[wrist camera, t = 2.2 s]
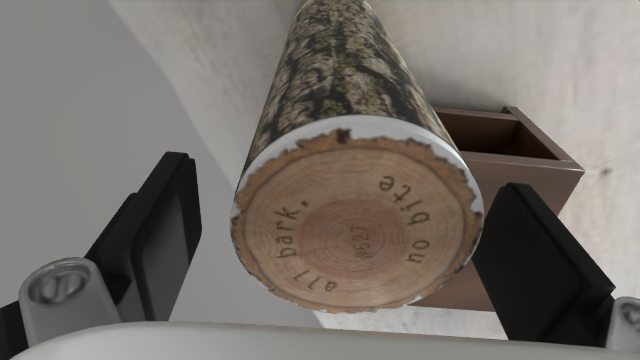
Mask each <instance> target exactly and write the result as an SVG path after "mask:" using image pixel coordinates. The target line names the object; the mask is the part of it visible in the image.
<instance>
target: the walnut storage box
mask: <svg viewBox="0 0 640 360" xmlns="http://www.w3.org/2000/svg"><path fill="white" fill-rule="evenodd" d="M432 108H433V110H434V111H435V113H436V114H437V116H438V118H439V119H440V121H441V123H442V124H443V126H444V128H445V129H446V131H447V132H448V134H449V136H450V137H451V139H452V141H453V142H454V144H455V146H456V147H457V149H458V150H459V152H460V154H461V155H462V157H463V159H464V160H465V162H466V164H467V165H468V167H469V168H470V170H471V173H472V175H473V177H474V179H475V181H476V183H477V185H478V188H479V190H480V193H481V196H482V200H483V207H484V220H485V217H486V215H487V213H488V211H489V209H490V207H491V205H492V203H493V200H494V198H495V196H496V194H497V192H498V190H499V188H500V187H502V186H505V185H506V184H507V183H509V182H514V183H525V184H529V185H531V186H532V188H533V189H534V190H535V191H536V192H537V194H538V195H539V196H540V197H541V198H542V200H543V201H544V202H545V203H546V204H547V205H548V207H549V208H550V209H551V210H552V211H553V213H554V214H555V215H556V216H557V217H558V215H559V213H560V212H561V210H562V208H563V207H564V205H565V204H566V202H567V200H568V199H569V197H570V196H571V194H572V192H573V191H574V189H575V188H576V186H577V184H578V183H579V181H580V180H581V178H582V176H583V175H584V173H585V172H586V171H585V170H584V169H583V168H582V167H581V166H580V165H579V164H578V163H577V162H575V161H574V160H573V159H572V158H571V157H570V156H569V155H568V154H567V153H566V152H564V151H563V150H562V149H561V148H560V147H559V146H558V145H557V144H556V143H555V142H554V141H553V140H551V139H550V138H549V137H548V136H547V135H546V134H545V133H544V132H543V131H542V130H541V129H540V128H538V127H537V126H536V125H535V124H534V123H533V122H532V121H531V120H530V119H529V118H528V117H527V116H525V115H524V114H523V113H522V112H521V111H520V110H519V109H518V108H517V107H509V106H505V107H504V109H503V112H502V113H494V112H485V111H475V110H465V109H456V108H446V107H437V106H432ZM408 306H422V307H435V308H449V309H462V310H476V311H489V312H496V311H495V309H494V307H493V305H492V303H491V301H490V299H489V296H488V294H487V292H486V290H485V288H484V286H483V283H482V281H481V279H480V277H479V275H478V273H477V271H476V268H475V266H474V264H473V262H472V260H471V258H470V260H469V261H468V262H467V264H466V265H465V266H464V267H463V269H462V270H461V271H460V272H459V273H458V274H457V275H456V276H455V277H454V278H452V279H451V280H450V281H449V282H448V283H447V284H445V285H444V286H442V287H441V288H440V289H438V290H436V291H435V292H433V293H432V294H430V295H428V296H426V297H424V298H422V299H420V300H418V301H415V302H413V303H411V304H408Z"/></svg>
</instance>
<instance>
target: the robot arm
mask: <svg viewBox="0 0 640 360" xmlns="http://www.w3.org/2000/svg"><path fill="white" fill-rule="evenodd" d="M195 165H196V164H195V160H194V159H192V158H189V156H188V154H187V153H179V152H166V153H165V154H164V155H163V157H162V158H161V160H160V161H159V163H158V164H157V165H156V167H155V168H154V170H153V171H152V172H151V174H150V175H149V177H148V178H147V180H146V181H145V183H144V184H143V185H142V187H141V188H140V190H139V191H138V192H137V193H132V194H130V195H129V196H128V197H127V199H126V200H125V201H124V203H123V204H122V206H121V207H120V208H119V210H118V211H117V213H116V214H115V215H114V217H113V218H112V219H111V221H110V222H109V224H108V225H107V226H106V228H105V229H104V230H103V232H102V233H101V234H100V236H99V237H98V239H97V240H96V241H95V243H94V244H93V245H92V247H91V248H90V250H89V251H88V253H87V254H86V255H85V256H84V258H79V257H73V258H64V259H60V260H56V261H53V262H51V263H48V264H46V265H44V266H42V267H40V268H39V269H38V270H36V271H35V272H33V273H31V275H30V276H29V277H28V278H27V279H26V280H25V281H24V282H23V284H22V285H21V287H20V289H19V295H18V296H19V297H18V301H15V302H13V303H11V304H9V305H6V306H4V307H2V308H0V360H640V299H637V298H633V297H620V298H617V299H616V300H614V298H613V297H612V296H611V295H610V294H611V293H612V292H613V290H614V289H615V288H616V287H615V285H614V284H613V283H612V282H611V281H610V279H609V278H608V277H607V276H606V275H605V273H604V272H603V271H602V270H601V269H600V267H599V266H598V265H597V264H596V263H595V262H594V260H593V259H592V258H591V257H590V256H589V254H588V253H587V252H586V251H585V250H584V248H583V247H582V246H581V245H580V244H579V242H578V241H577V240H576V239H575V238H574V236H573V235H572V234H571V233H570V232H569V231H568V229H567V228H566V227H565V226H564V225H563V223H562V222H561V221H560V220H559V219H558V217H557V216H556V215H555V214H554V213H553V211H552V210H551V209H550V208H549V207H548V205H547V204H546V203H545V202H544V201H543V200H542V198H541V197H540V196H539V195H538V194H537V192H536V191H535V190H534V189H533V188H532V186H531V185H529V184H525V183H514V182H509V183H507V184H506V185H505V186H502V187H500V188H499V190H498V192H497V194H496V196H495V198H494V200H493V203H492V205H491V207H490V209H489V211H488V213H487V215H486V217H485V220H484V224H483V230H482V234H481V237H480V240H479V243H478V245H477V247H476V249H475V251H474V253H473V255H472V256H471V260H472V262H473V264H474V266H475V268H476V271H477V273H478V275H479V277H480V279H481V281H482V283H483V286H484V288H485V290H486V292H487V294H488V296H489V299H490V301H491V303H492V305H493V307H494V309H495V311H496V314H497V316H498V318H499V320H500V322H501V324H502V326H503V329H504V331H505V333H506V335H507V337H508V339H509V340H498V339H483V338H469V337H454V336H439V335H423V334H407V333H391V332H375V331H359V330H343V329H325V328H307V327H290V326H273V325H255V324H235V323H212V322H186V321H168V320H169V317H170V315H171V312H172V310H173V307H174V305H175V302H176V300H177V297H178V294H179V292H180V289H181V286H182V284H183V282H184V279H185V276H186V274H187V271H188V269H189V266H190V264H191V261H192V258H193V256H194V253H195V251H196V248H197V246H198V243H199V240H200V237H201V233H202V224H201V214H200V204H199V195H198V184H197V174H196V166H195Z"/></svg>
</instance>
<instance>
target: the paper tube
mask: <svg viewBox="0 0 640 360" xmlns="http://www.w3.org/2000/svg"><path fill="white" fill-rule="evenodd" d="M483 224H484V207H483V200H482V196H481V193H480V190H479V188H478V185H477V183H476V181H475V179H474V177H473V175H472V173H471V170H470V168H469V167H468V165H467V164H466V162H465V160H464V159H463V157H462V155H461V154H460V152H459V150H458V149H457V147H456V146H455V144H454V142H453V141H452V139H451V137H450V136H449V134H448V132H447V131H446V129H445V128H444V126H443V124H442V123H441V121H440V119H439V118H438V116H437V114H436V113H435V111H434V110H433V108H432V106H431V105H430V103H429V101H428V100H427V98H426V96H425V95H424V93H423V92H422V90H421V88H420V87H419V85H418V83H417V82H416V80H415V78H414V77H413V75H412V74H411V72H410V70H409V69H408V67H407V65H406V64H405V62H404V60H403V59H402V57H401V56H400V54H399V52H398V51H397V49H396V47H395V46H394V44H393V42H392V41H391V39H390V38H389V36H388V34H387V33H386V31H385V29H384V28H383V26H382V24H381V23H380V21H379V20H378V18H377V16H376V15H375V14H374V11H373V10H372V9H371V7H370V5H369V4H368V2H367V1H366V0H303V2H302V3H301V4H300V6H299V8H298V10H297V12H296V15H295V18H294V20H293V23H292V25H291V28H290V31H289V34H288V37H287V40H286V43H285V46H284V49H283V52H282V55H281V58H280V61H279V64H278V67H277V70H276V73H275V76H274V79H273V82H272V85H271V88H270V91H269V94H268V97H267V100H266V103H265V106H264V109H263V112H262V115H261V118H260V121H259V124H258V127H257V130H256V133H255V135H254V138H253V141H252V144H251V147H250V150H249V153H248V156H247V159H246V162H245V165H244V168H243V171H242V174H241V177H240V180H239V183H238V186H237V189H236V192H235V197H234V202H233V205H232V210H231V216H230V232H231V238H232V242H233V246H234V249H235V252H236V254H237V256H238V258H239V260H240V262H241V263H242V265H243V266H244V268H245V269H246V270H247V271H248V273H249V274H250V275H251V276H252V277H253V278H254V279H255V280H256V281H257V282H258V283H259V284H260V285H262V286H263V287H264V288H265V289H267V290H268V291H270V292H271V293H273V294H274V295H276V296H278V297H280V298H282V299H284V300H286V301H288V302H290V303H293V304H295V305H298V306H301V307H304V308H308V309H311V310H315V311H320V312H326V313H334V314H368V313H376V312H382V311H387V310H391V309H395V308H399V307H402V306H405V305H408V304H411V303H413V302H415V301H418V300H420V299H422V298H424V297H426V296H428V295H430V294H432V293H433V292H435V291H436V290H438V289H440V288H441V287H442V286H444V285H445V284H447V283H448V282H449V281H450V280H451V279H452V278H454V277H455V276H456V275H457V274H458V273H459V272H460V271H461V270H462V269H463V267H464V266H465V265H466V264H467V262H468V261H469V260H470V258H471V256H472V255H473V253H474V251H475V249H476V247H477V245H478V243H479V240H480V237H481V234H482V230H483Z"/></svg>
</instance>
